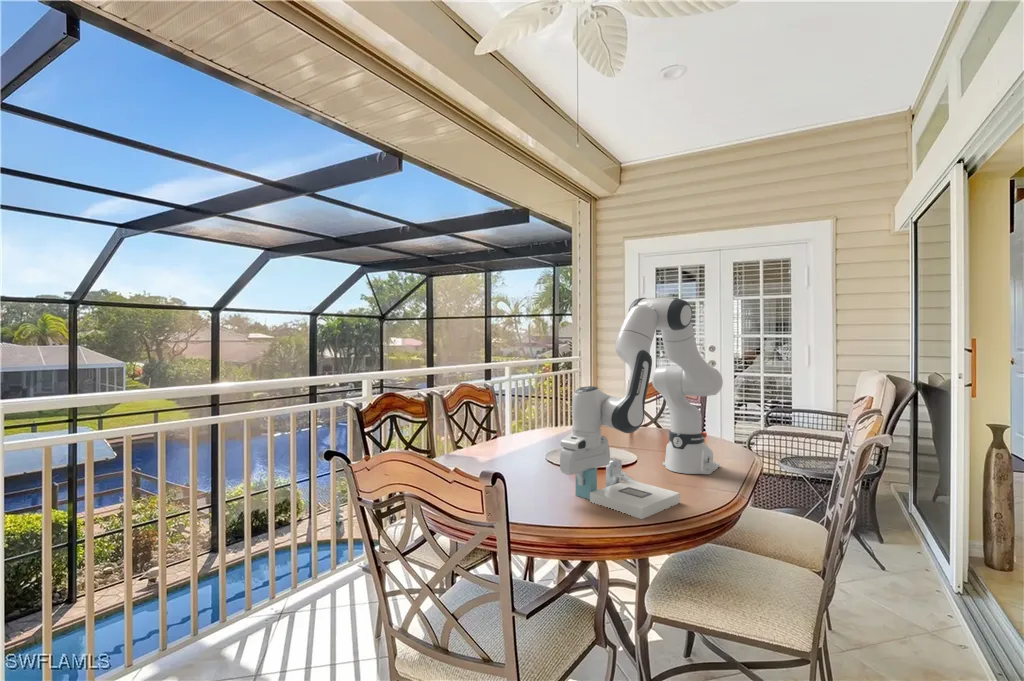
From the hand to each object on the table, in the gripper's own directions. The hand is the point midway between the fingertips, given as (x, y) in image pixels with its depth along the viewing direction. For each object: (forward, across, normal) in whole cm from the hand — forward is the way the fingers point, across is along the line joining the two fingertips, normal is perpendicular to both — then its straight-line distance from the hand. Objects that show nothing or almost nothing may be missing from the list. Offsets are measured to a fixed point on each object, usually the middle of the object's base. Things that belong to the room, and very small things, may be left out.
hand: (586, 483), depth 149 cm
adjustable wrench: (+5, -22, +1) cm, 23 cm away
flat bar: (+4, 0, 0) cm, 4 cm away
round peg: (+4, -14, 0) cm, 15 cm away
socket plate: (+4, -7, +13) cm, 15 cm away
